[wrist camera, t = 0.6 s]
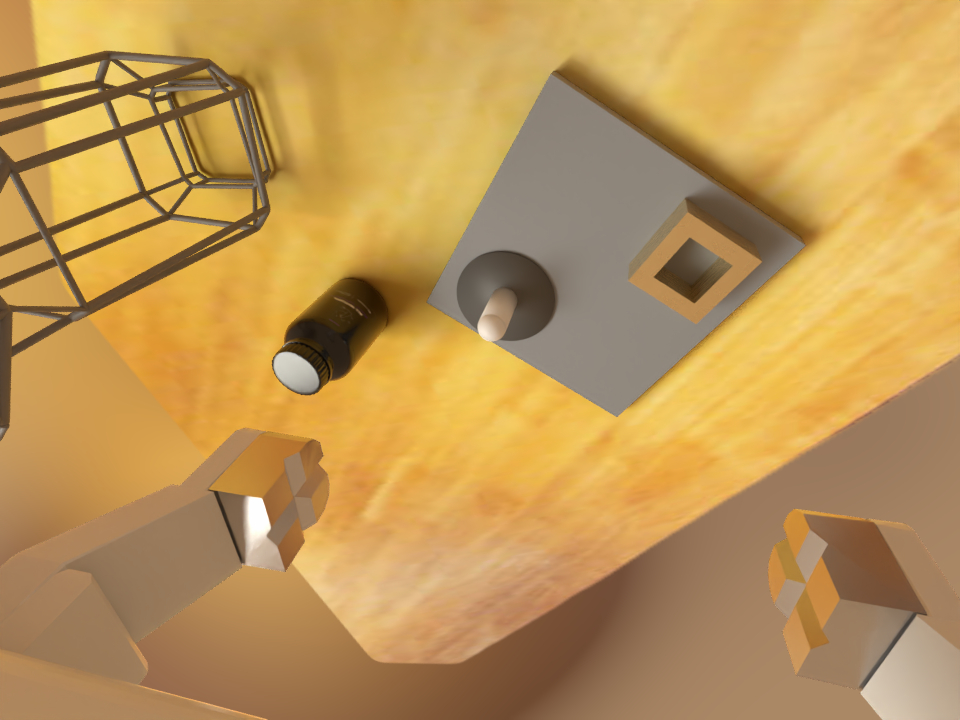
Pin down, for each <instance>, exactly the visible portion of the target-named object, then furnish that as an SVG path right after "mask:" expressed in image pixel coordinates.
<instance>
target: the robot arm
mask: <svg viewBox="0 0 960 720" xmlns="http://www.w3.org/2000/svg"><path fill="white" fill-rule="evenodd" d="M322 457H323V452H322V449H321V445H320V442H318V441H316V440H314V439H310V438H304V437H298V436H293V435H287V434H281V433H275V432H269V431H267V432H266V431H260V430H254V429H249V428H243V429H240V430H237V431H235V432H234V433H233V434H232V435H231V436H230V437H229V438H228V439H227V440H226V441H225V442H224V443H223V444H222V445H221V446H220V447H219V448H218V449H217V450H216V451H215V452H214V453H213V454H212V455H211V456H210V457H209V458H208V459H207V460H206V461H205V462H204V463H203V464H202V465H201V466H199V468H197V469H196V470H195V471H194V472H193V473H192V474H191V476H189V477H188V478H187V479H186V480H185V481H184V482H183V483H182V484H181V485H180V486H178V485H170V486H168V487H166V488H163V489H161V490H160V491H157V492H155V493H152V494H150V495H148V496H146V497H144V498H141V499H139V500H136V501H134V502H132V503H130V504H127V505H125V506H123V507H121V508H118V509H116V510H114V511H112V512H109V513H107V514H105V515H103V516H100V517H98V518H96V519H94V520H91V521H89V522H87V523H84V524H82V525H80V526H78V527H75V528H73V529H71V530H69V531H66V532H64V533H62V534H60V535H57V536H55V537H53V538H51V539H48V540H46V541H44V542H42V543H39V544H37V545H35V546H33V547H30V548H28V549H26V550H23V551H21V552H19V553H17V554H15V555H14V556H13V557H12V558H10V559H9V560H8V561H7V562H5V563H4V564H3V565H2V566H1V567H0V720H268V719H264V718H260V717H256V716H253V715H249V714H245V713H241V712H238V711H234V710H230V709H226V708H223V707H219V706H215V705H211V704H208V703H204V702H200V701H196V700H192V699H189V698H185V697H181V696H178V695H174V694H170V693H166V692H163V691H159V690H155V689H151V688H147V687H144V686H140V685H139V684H140V683H141V681H142V680H143V679H144V677H145V676H146V674H147V673H148V663H147V661H146V660H145V658H144V657H143V655H142V653H141V652H140V650H139V649H138V647H137V645H136V643H137V642H138V641H140V640H141V639H143V638H144V637H146V636H147V635H148V634H150V633H151V632H153V631H154V630H155V629H157V628H158V627H160V626H161V625H162V624H164V623H165V622H167V621H168V620H169V619H171V618H172V617H174V616H175V615H176V614H178V613H179V612H181V611H182V610H183V609H185V608H186V607H187V606H189V605H190V604H192V603H193V602H194V601H196V600H197V599H198V598H200V597H201V596H203V595H204V594H206V593H207V592H208V591H210V590H211V589H213V588H214V587H215V586H217V585H218V584H219V583H221V582H222V581H224V580H225V579H227V578H228V577H229V576H231V575H232V574H233V573H235V572H236V571H238V570H239V569H241V568H242V565H248V566H254V567H260V568H265V569H271V570H277V571H283V572H286V570H287V569H288V567H289V565H290V564H291V562H292V561H293V559H294V558H295V556H296V555H297V553H298V551H299V550H300V548H301V547H302V545H303V544H304V542H305V540H304V533H303V530H305V529H307V528H309V527H310V526H312V525H314V524H315V523H317V521H318V520H319V518H320V516H321V515H322V513H323V511H324V509H325V506H326V503H327V500H328V496H329V479H328V474H327V473H326V472H325V471H324V469H323V468H322V467H321V466H320V465H319V464H318V463H319V461H320V460H321V459H322ZM783 527H784V529H785V533H786V535H787V538H786V539H784V540H782V541H781V542H779V543H777V544H775V545H774V548H773V551H772V553H771V556H770V559H769V569H768V579H769V587H770V592H771V596H772V599H773V602H774V605H775V606H776V607H777V608H778V609H779V610H780V611H781V612H782V613H783V614H784V615H785V616H786V617H787V618H788V621H787V623H786V626H785V628H784V629H783V636H784V639H785V642H786V645H787V648H788V652H789V655H790V658H791V661H792V664H793V668H794V671H795V674H796V676H801V677H805V678H810V679H814V680H818V681H823V682H827V683H831V684H836V685H840V686H844V687H849V688H853V689H858V690H862V691H861V695H862V696H863V697H864V698H865V699H866V701H867V702H868V703H869V704H870V705H871V707H872V708H873V709H874V710H875V711H876V712H877V714H878V715H879V716H880V717H881V718H882V720H960V599H959V597H958V596H957V594H956V593H955V591H954V590H953V588H952V587H951V585H950V584H949V582H948V581H947V579H946V577H945V576H944V574H943V573H942V571H941V570H940V569H939V567H938V565H937V564H936V562H935V561H934V559H933V558H932V556H931V555H930V553H929V552H928V551H927V549H926V547H925V546H924V544H923V543H922V541H921V540H920V538H919V537H918V535H917V534H916V532H915V531H914V530H913V529H912V528H911V527H909V526H908V525H907V524H904V523H896V522H889V521H882V520H874V519H862V518H857V517H850V516H842V515H835V514H828V513H821V512H814V511H806V510H799V509H794V510H793V511H792V512H790V513H789V514H788V516H787V518H786V520H785V522H784V525H783Z"/></svg>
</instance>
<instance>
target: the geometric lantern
mask: <svg viewBox="0 0 960 720" xmlns="http://www.w3.org/2000/svg"><path fill="white" fill-rule="evenodd" d="M119 60H128V61H140V62H152V63H164V64H176V65H186V66H183V67H180V68H177V69H174V70H170V71H167V72H164V73H161V74H157V75H154V76H151V77H147V78H142V77H141V76H139V75H138V74H137V73H135V72H134V71H133V70H131V69H130V68H128V67H127V66H126V65H124V64H123V63H122V62H120V61H119ZM99 61H101V62H100V65H99V68H98V71H97V74H96V79H95V81H90V82H85V83H80V84H74V85H69V86H64V87H59V88H54V89H49V90H44V91H39V92H34V93H30V94H24V95H19V96H14V97H9V98H4V99H0V109H3V108H8V107H13V106H17V105H22V104H27V103H31V102H36V101H41V100H45V99H50V98H54V97H59V96H64V95H68V94H73V93H78V92H83V91H88V90H92V89H97V88H98V91H99V92H98V93H95V94H92V95H88V96H85V97H82V98H78V99H75V100H72V101H69V102H65V103H62V104H59V105H55V106H52V107H49V108H46V109H42V110H39V111H36V112H32V113H29V114H26V115H23V116H19V117H16V118H13V119H9V120H6V121H2V122H0V136H2V135H5V134H8V133H11V132H14V131H18V130H20V129H24V128H27V127H30V126H33V125H36V124H39V123H42V122H45V121H49V120H52V119H55V118H58V117H61V116H64V115H67V114H70V113H73V112H76V111H79V110H82V109H85V108H88V107H92V106H95V105H98V104H101V103H104V105H105V108H106V110H107V113H108V115H109V118H110V120H111V123H112V125H113V128H114V129H112V130H109V131H106V132H103V133H100V134H97V135H94V136H91V137H88V138H85V139H82V140H79V141H76V142H73V143H70V144H67V145H64V146H61V147H58V148H55V149H52V150H49V151H46V152H44V153H41V154H38V155H35V156H32V157H30V158H27V159H24V160H21V161H18V162H14V161H13V160H12V159H11V158H10V157H9V156H8V155H7V153H6V152H5V151H4V150H3V149H2V148H1V147H0V193H1V191H2V189H3V187H4V185H5V183H6V181H7V179H8V177H9V175H10V177H11V178H12V180H13V182H14V184H15V186H16V188H17V190H18V192H19V194H20V195H21V197H22V199H23V201H24V203H25V205H26V206H27V208H28V210H29V212H30V214H31V216H32V218H33V220H34V221H35V223H36V225H37V227H38V229H39V231H40V232H37V233H35V234H32V235H29V236H27V237H24V238H22V239H19V240H17V241H14V242H12V243H9V244H7V245H4V246H1V247H0V256H2V255H5V254H7V253H10V252H12V251H14V250H17V249H19V248H22V247H24V246H27V245H29V244H31V243H34V242H37V241H39V240H42V239H44V240H45V242H46V244H47V246H48V248H49V249H50V251H51V253H52V255H53V257H54V258H53V259H51V260H48V261H46V262H43V263H41V264H38V265H36V266H33V267H31V268H28V269H26V270H23V271H21V272H18V273H16V274H13V275H11V276H8V277H6V278H3V279H1V280H0V289H2V288H4V287H7V286H9V285H11V284H14V283H16V282H18V281H21V280H24V279H26V278H28V277H31V276H33V275H36V274H38V273H40V272H43V271H45V270H48V269H50V268H52V267H55V266H57V265H58V266H59V268H60V270H61V272H62V274H63V276H64V278H65V279H66V281H67V283H68V285H69V287H70V289H71V291H72V292H73V294H74V296H75V298H76V300H77V302H78V304H79V306H80V307H53V306H13V305H8V304H7V303H6V302H5V301H4V299H3V298H2V297H1V296H0V441H1V440H2V438H3V437H4V435H5V433H6V431H7V429H8V428H9V422H10V391H11V357H13V356H14V355H16V354H18V353H20V352H21V351H23V350H25V349H27V348H28V347H30V346H32V345H33V344H35V343H37V342H39V341H40V340H42V339H44V338H45V337H47V336H49V335H51V334H53V333H54V332H56V331H58V330H59V329H61V328H63V327H65V326H67V325H68V324H70V323H72V322H74V321H78V320H80V319H82V318H84V317H86V316H88V315H90V314H92V313H94V312H96V311H98V310H100V309H102V308H104V307H106V306H108V305H110V304H112V303H114V302H116V301H118V300H120V299H122V298H124V297H126V296H128V295H130V294H132V293H134V292H136V291H138V290H140V289H142V288H144V287H146V286H148V285H150V284H152V283H154V282H156V281H158V280H160V279H162V278H165V277H167V276H169V275H171V274H173V273H175V272H177V271H179V270H181V269H183V268H185V267H187V266H189V265H191V264H193V263H195V262H197V261H199V260H201V259H203V258H205V257H207V256H209V255H211V254H213V253H215V252H217V251H219V250H221V249H223V248H225V247H227V246H229V245H231V244H233V243H235V242H237V241H239V240H241V239H243V238H245V237H247V236H249V235H251V234H253V233H255V232H257V231H259V230H260V229H261V227H262V226H263V224H264V222H265V220H266V219H267V217H268V215H269V213H270V204H269V200H268V195H267V191H266V186H265V183H267V182H268V179H269V175H270V173H271V169H270V167H269V163H268V160H267V156H266V152H265V149H264V145H263V141H262V138H261V134H260V130H259V127H258V123H257V119H256V116H255V112H254V109H253V105H252V101H251V98H250V94H249V91H248V88H247V87H245V86H244V85H243V84H241V83H240V82H238V81H237V80H235V79H234V78H232V77H230V76H229V75H228V74H227V73H226V72H225V71H223V70H222V69H221V68H220V67H219V66H218V65H216V64H215V63H214V62H213V61H211V60H210V59H204V58H191V57H179V56H166V55H154V54H141V53H129V52H116V51H103V52H99V53H95V54H91V55H87V56H83V57H79V58H75V59H71V60H67V61H63V62H59V63H55V64H51V65H47V66H43V67H39V68H35V69H31V70H27V71H23V72H19V73H15V74H11V75H7V76H3V77H0V88H2V87H6V86H10V85H13V84H17V83H21V82H24V81H28V80H32V79H35V78H39V77H43V76H47V75H50V74H54V73H58V72H61V71H65V70H69V69H73V68H76V67H80V66H84V65H88V64H92V63H96V62H99ZM111 61H112V62H114V63H115V64H116V65H118V66H119V67H120V68H122V69H123V70H125V71H126V72H127V73H129V74H130V75H132V76H133V77H134V78H136V79H137V80H138V81H134V82H131V83H128V84H124V85H121V86H118V87H117V86H113V85H109V84H105V83H104V79H105V76H106V73H107V70H108V67H109V64H110V62H111ZM203 69H207V70H208V72H209V73H210V75H211V76H212V78H213V79H198V80H174V79H177V78H181V77H184V76H186V75H189V74H192V73H195V72H198V71H201V70H203ZM215 73H216V74H217V75H218V76H219V77H221V78H222V79H219V78H218V77H217V75H216V74H215ZM165 82H168V84H165V85H161V86H157V87H154V86H156V85H159V84H162V83H165ZM198 84H214V85H198ZM173 85H192V86H173ZM228 86H231V87H232V88H233V90H231V91H229V90H228V89H227V88H226V87H228ZM147 88H150V89H151V92H150V94H149V95H147V94H144V93H140V92H138V91H141V90H144V89H147ZM106 89H108V90H106ZM218 89H221V90H222V91H223V92H224V93H222V94H219V95H216V96H213V97H210V98H207V99H204V100H201V101H198V102H195V103H192V104H189V105H186V106H183V107H180V108H176V109H175V106H174V104H173V101H172V98H171V93H172V91H194V90H218ZM156 92H167V93H166V95H163V96H159V97H155V95H156ZM128 94H129V95H133V96H137V97H141V98H145V99H148V100H149V102H150V105H151V107H152V109H153V112H154V114H155V116H152V117H149V118H146V119H143V120H140V121H137V122H134V123H131V124H128V125H125V126H122V127H121V126H120V123H119V121H118V118H117V116H116V113H115V111H114V108H113V106H112V103H111V101H110V100H113V99H116V98H119V97H122V96H125V95H128ZM237 97H238V99H239V104H240V108H241V112H242V117H243V121H244V126H245V130H246V134H247V138H246V135H245V132H244V128H243V125H242V122H241V119H240V116H239V112H238V109H237V106H236V103H235V98H237ZM164 100H168V103H169V105H170V108H171V110H170V111H167V112H164V113H161V114H159V112H158V109H157V107H156V104H155V102H159V101H164ZM229 100H230V102H231V106H232V109H233V112H234V115H235V118H236V121H237V125H238V128H239V131H240V134H241V137H242V140H243V144H244V147H245V150H246V153H247V156H248V159H249V163H250V166H251V169H252V172H253V175H254V178H255V179H229V178H207V177H206V176H204V175H203V174H201V173H200V172H199V171H197V168H196V165H195V163H194V160H193V157H192V154H191V151H190V149H189V146H188V143H187V140H186V137H185V135H184V132H183V129H182V126H181V123H180V120H179V118H180V117H183V116H186V115H189V114H191V113H194V112H197V111H200V110H203V109H206V108H209V107H212V106H215V105H217V104H220V103H223V102H226V101H229ZM246 100H247V101H246ZM247 104H248V105H247ZM248 107H249V110H248ZM249 111H250V114H251V118H252V122H253V125H254V129H255V132H256V136H257V140H258V143H259V147H260V150H261V154H262V157H263V161H264V165H265V168H266V171H264V172H262V168H261V164H260V159H259V155H258V150H257V146H256V141H255V137H254V132H253V128H252V123H251V119H250V114H249ZM174 119H175V122H176V125H177V128H178V130H179V133H180V136H181V139H182V141H183V144H184V147H185V150H186V153H187V155H188V158H189V161H190V164H191V166H192V169H193V171H194V172H192V173H189V174H186V175H185V173H184V171H183V168H182V166H181V163H180V161H179V159H178V156H177V154H176V152H175V149H174V147H173V145H172V142H171V140H170V137H169V135H168V133H167V130H166V128H165V126H164V123H166V122H168V121H171V120H174ZM157 125H159V126H160V128H161V130H162V133H163V135H164V137H165V140H166V142H167V144H168V147H169V149H170V151H171V154H172V156H173V158H174V161H175V163H176V165H177V168H178V170H179V172H180V175H181V178H179V179H176V180H174V181H171V182H168V183H166V184H163V185H161V186H158V187H156V188H153V189H151V190H148V191H146V189H145V187H144V184H143V182H142V179H141V177H140V174H139V172H138V169H137V167H136V164H135V161H134V159H133V156H132V154H131V151H130V149H129V146H128V144H127V141H126V139H125V136H128V135H131V134H134V133H137V132H140V131H143V130H145V129H148V128H151V127H154V126H157ZM117 139H118V140H119V143H120V145H121V148H122V150H123V153H124V155H125V158H126V160H127V163H128V165H129V167H130V170H131V172H132V175H133V177H134V180H135V182H136V185H137V187H138V190H139V193H136V194H134V195H131V196H129V197H126V198H124V199H121V200H118V201H116V202H113V203H111V204H108V205H106V206H103V207H101V208H98V209H96V210H93V211H90V212H88V213H85V214H83V215H80V216H78V217H75V218H73V219H70V220H68V221H65V222H62V223H60V224H57V225H55V226H52V227H50V228H47V227H46V225H45V223H44V221H43V219H42V217H41V215H40V213H39V211H38V209H37V207H36V206H35V204H34V202H33V200H32V198H31V196H30V194H29V192H28V190H27V188H26V187H25V185H24V183H23V181H22V179H21V177H20V175H19V173H20V172H23V171H26V170H29V169H31V168H35V167H38V166H41V165H43V164H47V163H50V162H53V161H56V160H59V159H62V158H65V157H68V156H71V155H73V154H76V153H79V152H82V151H85V150H88V149H91V148H94V147H97V146H99V145H102V144H105V143H108V142H111V141H114V140H117ZM247 139H248V141H247ZM248 143H249V145H248ZM249 147H250V148H249ZM197 175H198V176H199V177H200V178H202V179H203V180H202V181H200V182H198V183H196V184H193V183H192V182H191V181H190V180H189V179H188V178H191V177H194V176H197ZM183 181H185V182H186V183H187V184H188V185H189V186H188V188H187V189H186V190H185V191H184V193H183V194H182V195H181V197H180V198H179V199H178V200H177V202H176V203H175V204H174V206H173V207H172V208H171V209H170V211H169V212H167V211H165V210H164V209H163V208H162V207H161V206H160V205H159V204H158V203H157V202H156V201H154V200H153V199H152V198H151V197H150V196H149V195H151V194H153V193H156V192H158V191H161V190H163V189H166V188H168V187H171V186H173V185H176V184H178V183H181V182H183ZM208 182H228V183H254V184H206V183H208ZM193 188H220V189H252V191H253V213H251V214H249V215H248V216H246V217H244V218H242V219H240V220H238V221H237V222H228V221H221V220H213V219H206V218H199V217H191V216H184V215H177V214H173V213H174V212H175V211H176V209H177V208H178V207H179V206H180V204H181V203H182V202H183V200H184V199H185V198H186V196H187V195H188V194H189V193H190V191H191V190H192V189H193ZM257 188H258V192H259V195H260V199H261V203H262V206H263V207H262V208H260V209H258V210H257ZM142 198H144V199H145V200H146V201H147V202H148V203H149V204H150V205H151V206H152V207H153V208H154V209H156V210H157V211H158V212H159V213H160V214H161V215H162V216H160V217H157V218H154V219H152V220H149V221H146V222H144V223H141V224H139V225H136V226H134V227H131V228H129V229H126V230H124V231H121V232H119V233H116V234H114V235H111V236H108V237H106V238H103V239H101V240H98V241H96V242H93V243H91V244H88V245H86V246H83V247H81V248H78V249H76V250H73V251H71V252H68V253H66V254H63V255H61V253H60V251H59V249H58V248H57V246H56V244H55V242H54V240H53V238H52V236H51V235H54V234H56V233H59V232H61V231H64V230H66V229H69V228H71V227H73V226H76V225H78V224H81V223H83V222H86V221H88V220H91V219H93V218H96V217H98V216H100V215H103V214H105V213H108V212H110V211H113V210H115V209H118V208H120V207H123V206H125V205H128V204H130V203H132V202H135V201H137V200H140V199H142ZM258 217H259V219H258ZM168 220H177V221H184V222H191V223H199V224H206V225H213V226H220V227H226V228H224V229H222V230H220V231H218V232H216V233H215V234H213V235H211V236H209V237H207V238H205V239H203V240H202V241H200V242H198V243H196V244H194V245H192V246H191V247H189V248H187V249H185V250H183V251H181V252H180V253H178V254H176V255H174V256H172V257H170V258H169V259H167V260H165V261H163V262H161V263H159V264H158V265H156V266H154V267H152V268H150V269H148V270H146V271H145V272H143V273H141V274H139V275H137V276H135V277H134V278H132V279H130V280H128V281H126V282H124V283H123V284H121V285H119V286H117V287H115V288H113V289H112V290H110V291H108V292H106V293H104V294H102V295H100V296H99V297H97V298H95V299H93V300H91V301H89V302H88V303H86V301H85V299H84V297H83V295H82V293H81V291H80V289H79V288H78V286H77V284H76V282H75V280H74V278H73V276H72V274H71V272H70V270H69V268H68V267H67V265H66V263H65V262H67V261H70V260H72V259H74V258H77V257H79V256H82V255H84V254H87V253H89V252H91V251H94V250H96V249H99V248H101V247H103V246H106V245H108V244H111V243H113V242H116V241H118V240H120V239H123V238H125V237H128V236H130V235H133V234H135V233H137V232H140V231H142V230H145V229H147V228H150V227H152V226H155V225H157V224H160V223H163V222H165V221H168ZM251 221H253V225H250V224H248V223H250V222H251ZM237 229H242V230H244V231H242V232H240V233H238V234H236V235H234V236H232V237H230V238H228V239H226V240H223V241H221V242H219V243H217V244H215V245H213V246H211V247H209V248H207V249H205V250H203V251H200V250H202V249H203V248H205V247H207V246H209V245H211V244H212V243H214V242H216V241H218V240H219V239H221V238H223V237H225V236H227V235H228V234H230V233H232V232H234V231H235V230H237ZM198 251H200V252H198ZM196 252H198V253H196ZM194 253H196V254H194ZM193 254H194V255H193ZM191 255H192V256H191ZM189 256H190V257H189ZM187 257H188V258H187ZM12 312H20V313H25V314H31V315H36V316H41V317H46V318H52V319H57V320H58V321H56V322H55V323H53V324H51V325H49V326H47V327H46V328H44V329H42V330H40V331H38V332H37V333H35V334H33V335H31V336H30V337H28V338H26V339H24V340H23V341H21V342H19V343H17V344H16V345H14V346H12ZM51 312H72V313H70V314H69V315H62V314H57V313H51Z"/></svg>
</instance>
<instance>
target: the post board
mask: <svg viewBox="0 0 960 720" xmlns="http://www.w3.org/2000/svg"><path fill="white" fill-rule="evenodd" d="M684 198H686V199H688V200H689V201H691V202H692V203H694V204H695V205H697V206H698V207H700V208H701V209H703V210H704V211H706V212H707V213H709V214H710V215H712V216H713V217H715V218H716V219H718V220H719V221H721V222H722V223H724V224H725V225H727V226H728V227H730V228H731V229H733V230H734V231H736V232H737V233H739V234H740V235H742V236H743V237H745V238H746V239H748V240H749V241H751V242H752V243H754V244H755V245H756V247H757V250H758V252H759V255H760V257H761V259H762V263H761V264H759V265H758V266H757V267H756V268H755V269H754V270H753V271H752V272H751V273H750V274H749V275H748V276H747V277H746V278H745V279H744V280H743V281H741V282H740V283H739V284H738V285H737V286H736V287H735V288H734V289H733V290H732V291H731V292H730V293H729V294H728V295H727V296H726V297H725V298H723V299H722V300H721V301H720V302H719V303H718V304H717V305H716V306H715V307H714V308H713V309H712V310H711V311H710V312H709V313H708V314H707V315H705V316H704V317H703V318H702V319H701V320H700V321H699V322H698V323H697V324H695V323H693V322H692V321H690V320H689V319H687V318H686V317H684V316H682V315H681V314H679V313H678V312H676V311H675V310H673V309H671V308H670V307H668V306H667V305H665V304H664V303H662V302H660V301H659V300H657V299H656V298H654V297H653V296H651V295H649V294H648V293H646V292H645V291H643V290H642V289H640V288H638V287H637V286H635V285H634V284H632V283H631V282H629V281H628V274H629V263H630V262H631V261H632V260H633V259H634V258H635V256H636V255H637V254H638V253H639V252H640V250H641V249H642V248H643V247H644V246H645V244H646V243H647V242H648V241H649V240H650V239H651V237H652V236H653V235H654V234H655V233H656V231H657V230H658V229H659V228H660V227H661V226H662V224H663V223H664V222H665V221H666V220H667V218H668V217H669V216H670V215H671V214H672V212H673V211H674V210H675V209H676V208H677V207H678V205H679V204H680V203H681V202H682V201H683V199H684ZM805 246H806V245H805V243H804V242H803V240H802V239H801V237H799V236H798V235H796V234H795V233H793V232H792V231H791V230H789V229H788V228H786V227H785V226H783V225H782V224H780V223H779V222H777V221H776V220H774V219H773V218H771V217H770V216H768V215H767V214H765V213H764V212H762V211H761V210H759V209H758V208H756V207H755V206H753V205H752V204H751V203H749V202H748V201H746V200H745V199H743V198H742V197H740V196H739V195H737V194H736V193H734V192H733V191H731V190H730V189H728V188H727V187H725V186H724V185H722V184H721V183H719V182H718V181H716V180H715V179H713V178H712V177H711V176H709V175H708V174H706V173H705V172H703V171H702V170H700V169H699V168H697V167H696V166H694V165H693V164H691V163H690V162H688V161H687V160H685V159H684V158H682V157H681V156H679V155H678V154H676V153H675V152H674V151H672V150H671V149H669V148H668V147H666V146H665V145H663V144H662V143H660V142H659V141H657V140H656V139H654V138H653V137H651V136H650V135H648V134H647V133H645V132H644V131H642V130H641V129H639V128H638V127H636V126H635V125H634V124H632V123H631V122H629V121H628V120H626V119H625V118H623V117H622V116H620V115H619V114H617V113H616V112H614V111H613V110H611V109H610V108H608V107H607V106H605V105H604V104H602V103H601V102H599V101H598V100H596V99H595V98H594V97H592V96H591V95H589V94H588V93H586V92H585V91H583V90H582V89H580V88H579V87H577V86H576V85H574V84H573V83H571V82H570V81H568V80H567V79H565V78H564V77H562V76H561V75H559V74H558V73H556V72H555V71H553V72H552V73H551V74H550V76H549V78H548V80H547V82H546V84H545V85H544V87H543V89H542V91H541V93H540V95H539V96H538V98H537V100H536V102H535V104H534V106H533V107H532V109H531V111H530V113H529V115H528V117H527V118H526V120H525V122H524V124H523V126H522V128H521V129H520V131H519V133H518V135H517V137H516V139H515V140H514V142H513V144H512V146H511V148H510V150H509V151H508V153H507V155H506V157H505V159H504V161H503V163H502V164H501V166H500V168H499V170H498V172H497V174H496V175H495V177H494V179H493V181H492V183H491V185H490V186H489V188H488V190H487V192H486V194H485V196H484V197H483V199H482V201H481V203H480V205H479V207H478V208H477V210H476V212H475V214H474V216H473V218H472V219H471V221H470V223H469V225H468V227H467V229H466V230H465V232H464V234H463V236H462V238H461V240H460V241H459V243H458V245H457V247H456V249H455V251H454V252H453V254H452V256H451V258H450V260H449V262H448V263H447V265H446V267H445V269H444V271H443V273H442V274H441V276H440V278H439V280H438V282H437V284H436V285H435V287H434V289H433V291H432V293H431V295H430V296H429V298H428V300H427V303H428V304H430V305H432V306H433V307H435V308H437V309H438V310H440V311H442V312H443V313H445V314H447V315H448V316H450V317H452V318H453V319H455V320H457V321H458V322H460V323H462V324H463V325H465V326H467V327H468V328H470V329H472V330H473V331H475V332H477V333H478V334H480V336H481V337H482V338H483V339H485V340H487V341H491V342H493V343H495V344H496V345H498V346H500V347H501V348H503V349H505V350H506V351H508V352H510V353H511V354H513V355H515V356H516V357H518V358H520V359H521V360H523V361H525V362H526V363H528V364H530V365H531V366H533V367H535V368H536V369H538V370H540V371H541V372H543V373H545V374H546V375H548V376H550V377H551V378H553V379H555V380H556V381H558V382H560V383H561V384H563V385H565V386H566V387H568V388H570V389H571V390H573V391H575V392H576V393H578V394H580V395H581V396H583V397H584V398H586V399H588V400H589V401H591V402H593V403H594V404H596V405H598V406H599V407H601V408H603V409H604V410H606V411H608V412H609V413H611V414H613V415H614V416H616V417H618V416H619V415H620V414H621V413H622V412H623V411H624V410H625V409H626V408H627V407H629V406H630V405H631V404H632V403H633V402H634V401H635V400H636V399H637V398H638V397H640V396H641V395H642V394H643V393H644V392H645V391H646V390H647V389H648V388H649V387H651V386H652V385H653V384H654V383H655V382H656V381H657V380H658V379H659V378H661V377H662V376H663V375H664V374H665V373H666V372H667V371H668V370H669V369H670V368H672V367H673V366H674V365H675V364H676V363H677V362H678V361H679V360H680V359H681V358H683V357H684V356H685V355H686V354H687V353H688V352H689V351H690V350H691V349H692V348H694V347H695V346H696V345H697V344H698V343H699V342H700V341H701V340H702V339H703V338H705V337H706V336H707V335H708V334H709V333H710V332H711V331H712V330H713V329H714V328H716V327H717V326H718V325H719V324H720V323H721V322H722V321H723V320H724V319H725V318H727V317H728V316H729V315H730V314H731V313H732V312H733V311H734V310H735V309H736V308H738V307H739V306H740V305H741V304H742V303H743V302H744V301H745V300H746V299H747V298H749V297H750V296H751V295H752V294H753V293H754V292H755V291H756V290H757V289H759V288H760V287H761V286H762V285H763V284H764V283H765V282H766V281H767V280H768V279H770V278H771V277H772V276H773V275H774V274H775V273H776V272H777V271H778V270H779V269H781V268H782V267H783V266H784V265H785V264H786V263H787V262H788V261H789V260H790V259H792V258H793V257H794V256H795V255H796V254H797V253H798V252H799V251H800V250H801V249H803V248H804V247H805ZM718 258H719V256H717V255H716V254H714V253H713V252H711V251H710V250H708V249H707V248H705V247H704V246H702V245H701V244H699V243H698V242H696V241H695V240H693V239H692V238H690V237H689V238H688V240H687V241H686V242H685V243H684V244H683V245H682V246H681V247H680V248H679V250H678V251H677V252H676V253H675V254H674V255H673V256H672V257H671V258H670V260H669V261H668V262H667V263H666V264H665V265H664V266H663V267H664V268H666V269H667V270H669V271H670V272H672V273H674V274H675V275H677V276H678V277H680V278H681V279H683V280H684V281H686V282H687V283H689V284H691V285H693V284H694V283H695V282H696V280H697V279H698V278H699V277H700V276H701V275H702V274H703V273H704V272H705V271H706V270H707V269H708V268H709V267H710V266H711V265H712V264H713V263H714V262H715V261H716V260H717V259H718Z"/></svg>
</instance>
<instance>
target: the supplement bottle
mask: <svg viewBox="0 0 960 720" xmlns="http://www.w3.org/2000/svg"><path fill="white" fill-rule="evenodd" d="M387 320H388V311H387V307H386V304H385V302H384V300H383V298H382V297H381V295H380V294H379V293H378V292H377V291H376V290H375V289H374V288H373V287H371V286H370V285H368V284H367V283H365V282H362V281H359V280H355V279H344V280H341V281H338V282H336V283H335V284H334V285H332V286H331V287H330V288H329V289H328V290H327V291H326V292H324V293H323V294H322V295H321V296H320V297H319V298H318V299H317V300H316V301H315V302H313V303H312V304H311V305H310V306H309V307H308V308H307V309H306V310H305V311H304V312H303V313H301V314H300V315H299V316H298V317H297V318H296V319H295V320H294V321H293V322H292V323H291V324H290V325H289V326H288V328H287V330H286V333H285V337H284V345H283V347H282V348H281V349H280V350H279V351H278V352H277V353H276V355H275V356H274V357H273V360H272V367H273V371H274V374H275V375H276V377H277V378H278V379H279V381H280V382H281V383H282V384H283V385H284V386H286V387H287V388H288V389H290V390H291V391H293V392H295V393H297V394H301V395H312V394H315V393H317V392H319V391H320V389H321V388H322V387H323V386H324V385H326V384H327V383H328V382H329V381H335V380H338V379H341V378H343V377H345V376H346V375H347V374H348V373H349V372H350V371H351V370H352V369H353V367H354V366H355V365H356V364H357V362H358V361H359V360H360V359H361V357H362V356H363V355H364V354H365V352H366V351H367V350H368V349H369V347H370V346H371V345H372V344H373V342H374V341H375V340H376V339H377V337H378V336H379V335H380V333H381V332H382V331H383V329H384V328H385V326H386V324H387Z"/></svg>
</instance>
